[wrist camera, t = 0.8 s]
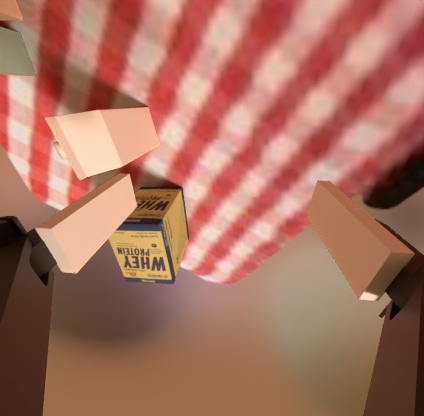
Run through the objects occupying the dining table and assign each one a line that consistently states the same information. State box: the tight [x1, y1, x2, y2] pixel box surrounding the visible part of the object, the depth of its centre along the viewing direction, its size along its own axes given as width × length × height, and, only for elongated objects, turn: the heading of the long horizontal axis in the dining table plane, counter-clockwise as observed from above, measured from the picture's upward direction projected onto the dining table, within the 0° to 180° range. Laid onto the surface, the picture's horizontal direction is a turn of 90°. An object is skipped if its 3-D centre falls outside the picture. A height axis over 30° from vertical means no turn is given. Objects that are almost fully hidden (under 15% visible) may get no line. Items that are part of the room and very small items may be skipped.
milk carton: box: [45, 107, 159, 180], centre depth 29 cm, size 7×7×19 cm
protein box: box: [108, 187, 189, 284], centre depth 40 cm, size 10×16×16 cm
